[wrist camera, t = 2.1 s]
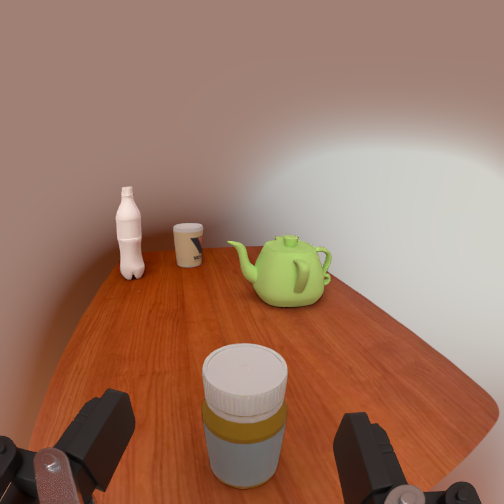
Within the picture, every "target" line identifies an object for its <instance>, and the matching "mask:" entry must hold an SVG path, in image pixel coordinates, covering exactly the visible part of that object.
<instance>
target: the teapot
mask: <svg viewBox="0 0 504 504" xmlns="http://www.w3.org/2000/svg"><path fill="white" fill-rule="evenodd" d="M298 239H299V237H297V236H294V235H285V236H275V240H272V241H268V242H267V243H266V244H265V245H264V247H263V249H262V251H261V253H260V255H259V257H258V259H257V261H256V264H255V266H253V265H252V264H251V263H250V262H249V260H248V255H247V251H246V248H245V247H244V245H243V244H241V243H238V242H232V241H227V242H228V243H230V244H231V245H232V246H234V247H235V249H236V250H237V252H238V255H239V259H240V266H241V270H242V273H243V275H244V277H245V278H246V279H247V280H248V281H250V282H251V283H252V284H253V288H254V290H255V291H256V293H257V294H258V296H259V297H260V298H261V299H262V300H263V301H264V302H266V303H267V304H269V305H272V306H278V307H297V306H306V305H311V304H313V303H315V302H316V301H317V300H318V299H319V298H320V297H321V296H322V294H323V292H324V285H327V284H329V283H330V280H331V278H330V275H329V274H327V273H326V272H327V270H328V268H329V265H330V263H331V253H330V252H329V251H328V250H327V249H326V248H324V247H315V248H314V247H313V246H312V245H310V244H309V243H306V242H303V241H298ZM317 252H324V253H325V254H326V260H325V263H324V265H323V267H322V265H321V262H320V259H319V256H318V253H317ZM324 277H327V279H325V280H324Z"/></svg>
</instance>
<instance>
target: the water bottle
mask: <svg viewBox="0 0 504 504" xmlns="http://www.w3.org/2000/svg"><path fill="white" fill-rule="evenodd" d="M133 195H134V194H133V192H132V187H122V195H121V197H122V201H121V204H120V206H119V208H118V211H117V214H116V225H117V226H116V227H117V239H118V243H119V247H120V255H121V261H120V271H121V273H122V275H123V276H124V277H125V278H126V279H128V280H131V279H132V275H134V276H135V277H136V279H138V278H140V277H141V276H142V274H143V272H144V268H145V267H144V262H143V259H142V254H141V237H142V235H141V215H140V212H139V210H138V208H137V206H136V204H135V203H134V200H133Z"/></svg>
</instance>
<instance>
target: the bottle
mask: <svg viewBox="0 0 504 504" xmlns="http://www.w3.org/2000/svg"><path fill="white" fill-rule="evenodd" d="M202 373H203V383H204V390H205V398H204V401H203V404H202V417H203V424H204V431H205V437H206V443H207V449H208V455H209V460H210V466H211V469H212V472H213V473H214V475H215V476H216V478H217V479H219V480H220V481H221V482H222V483H224V484H226V485H228V486H231V487H234V488H242V489H248V488H254V487H258V486H260V485H262V484H264V483H266V482H267V481H268V480H269V479H271V478H272V477H273V475H274V473H275V471H276V468H277V465H278V460H279V455H280V451H281V445H282V440H283V435H284V430H285V424H286V419H287V405H286V402H285V399H284V394H285V390H286V383H287V376H288V369H287V365H286V362H285V360H284V359H283V358H282V356H281V355H279V354H278V353H277V352H275V351H274V350H272V349H270V348H267V347H264V346H261V345H256V344H245V343H243V344H232V345H228V346H224V347H221V348H219V349H217V350H215V351H214V352H212V353H211V354H210V355H209V356H208V357H207V358H206V360H205V362H204V365H203V369H202Z"/></svg>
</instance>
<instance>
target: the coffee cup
mask: <svg viewBox="0 0 504 504" xmlns="http://www.w3.org/2000/svg"><path fill="white" fill-rule="evenodd" d="M173 231H174V241H175V250H176V258H177V264H178V265H179V266H181V267H195V266H198V265H200V264H201V260H202V240H203V239H202V238H203V226H202V225H201V224H196V223H184V224H177V225H175V226H174V228H173Z"/></svg>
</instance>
